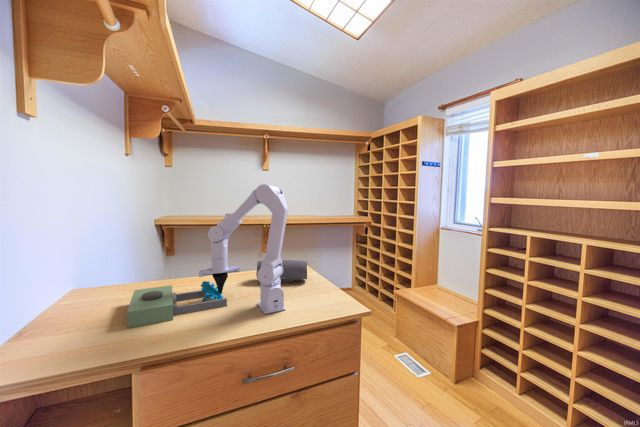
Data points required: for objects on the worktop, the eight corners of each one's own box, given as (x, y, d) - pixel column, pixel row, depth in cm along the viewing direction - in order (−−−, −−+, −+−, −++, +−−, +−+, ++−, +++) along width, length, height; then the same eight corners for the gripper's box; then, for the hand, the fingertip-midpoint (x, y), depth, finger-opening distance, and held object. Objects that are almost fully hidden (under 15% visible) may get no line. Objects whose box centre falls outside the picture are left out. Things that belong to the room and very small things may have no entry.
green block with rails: (228, 309, 96) (228, 292, 95) (127, 328, 81) (126, 308, 81) (219, 290, 113) (219, 276, 112) (134, 303, 99) (134, 287, 98)
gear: (216, 303, 96) (198, 282, 97) (204, 314, 97) (186, 293, 97) (229, 295, 108) (212, 276, 108) (218, 305, 108) (202, 287, 108)
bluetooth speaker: (306, 278, 132) (307, 257, 131) (307, 284, 123) (307, 262, 122) (259, 277, 130) (259, 257, 130) (256, 284, 121) (256, 262, 120)
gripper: (237, 253, 109) (237, 286, 110) (197, 256, 102) (198, 291, 103) (241, 257, 103) (241, 292, 104) (199, 261, 96) (200, 298, 97)
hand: (220, 292), depth 103 cm, fingers closed
